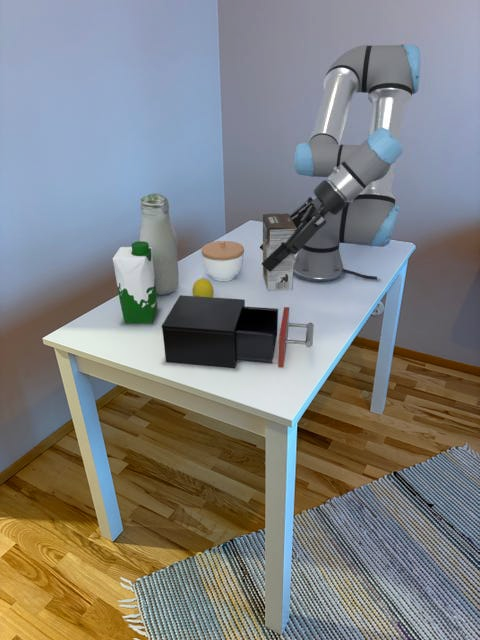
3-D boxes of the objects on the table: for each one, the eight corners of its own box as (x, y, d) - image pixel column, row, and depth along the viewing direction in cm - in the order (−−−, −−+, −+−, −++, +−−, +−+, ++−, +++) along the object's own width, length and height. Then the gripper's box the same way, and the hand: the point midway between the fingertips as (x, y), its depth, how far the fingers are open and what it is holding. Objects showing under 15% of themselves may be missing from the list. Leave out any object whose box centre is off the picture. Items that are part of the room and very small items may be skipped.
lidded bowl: (214, 265, 149) (213, 232, 143) (250, 271, 144) (250, 238, 138) (195, 280, 139) (192, 246, 133) (233, 288, 134) (232, 252, 129)
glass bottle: (144, 301, 128) (131, 200, 114) (147, 285, 137) (135, 189, 123) (180, 299, 129) (171, 199, 115) (181, 283, 138) (173, 188, 123)
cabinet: (245, 334, 113) (244, 299, 108) (235, 368, 101) (234, 331, 96) (183, 329, 115) (179, 295, 110) (165, 362, 103) (161, 325, 98)
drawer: (312, 337, 109) (314, 308, 105) (310, 370, 98) (313, 339, 94) (228, 331, 112) (227, 302, 108) (217, 362, 101) (215, 331, 97)
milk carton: (155, 325, 117) (145, 251, 107) (119, 325, 117) (107, 251, 107) (161, 308, 124) (153, 237, 114) (127, 308, 125) (116, 237, 115)
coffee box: (261, 275, 118) (262, 213, 109) (286, 274, 118) (289, 212, 110) (266, 292, 110) (267, 226, 102) (293, 290, 110) (296, 225, 102)
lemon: (211, 310, 123) (209, 283, 119) (191, 308, 124) (189, 281, 120) (216, 300, 128) (215, 274, 124) (196, 299, 129) (195, 272, 125)
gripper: (318, 167, 110) (251, 232, 119) (335, 193, 92) (255, 268, 100) (338, 189, 113) (272, 251, 121) (359, 218, 94) (279, 289, 103)
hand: (264, 258), depth 111 cm, fingers closed on coffee box, 9 cm apart
